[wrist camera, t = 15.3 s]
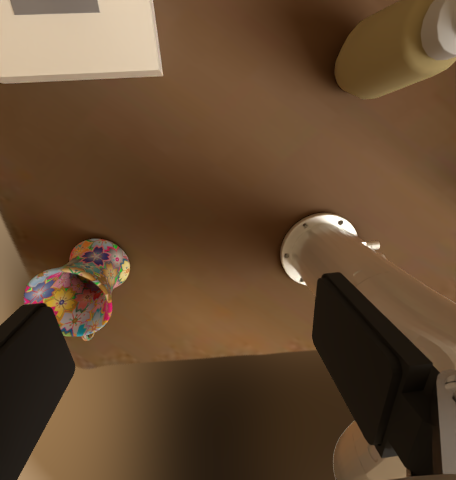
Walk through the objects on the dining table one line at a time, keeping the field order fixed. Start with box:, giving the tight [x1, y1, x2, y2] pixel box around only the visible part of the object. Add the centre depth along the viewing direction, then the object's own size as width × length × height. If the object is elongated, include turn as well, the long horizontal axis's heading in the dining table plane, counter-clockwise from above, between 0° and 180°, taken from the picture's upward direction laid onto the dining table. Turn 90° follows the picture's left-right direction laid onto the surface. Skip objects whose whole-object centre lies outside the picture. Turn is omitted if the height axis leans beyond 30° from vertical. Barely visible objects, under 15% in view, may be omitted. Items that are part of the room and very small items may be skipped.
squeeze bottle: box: [334, 0, 456, 99], centre depth 23 cm, size 8×8×18 cm
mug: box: [24, 239, 130, 341], centre depth 34 cm, size 12×9×11 cm
